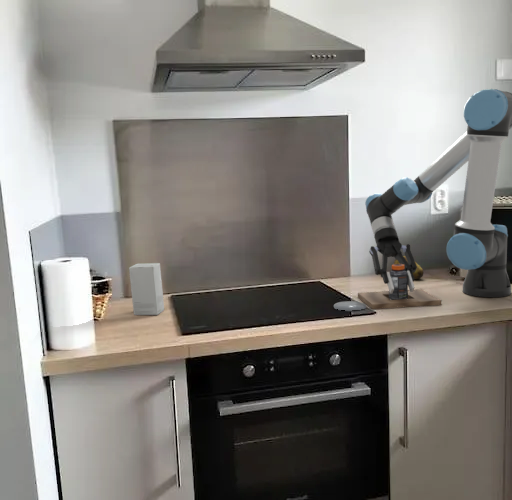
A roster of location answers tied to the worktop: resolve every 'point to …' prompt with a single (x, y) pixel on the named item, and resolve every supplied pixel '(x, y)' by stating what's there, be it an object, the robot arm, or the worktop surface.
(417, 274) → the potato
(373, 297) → the pocket board
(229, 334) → the worktop surface
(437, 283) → the worktop surface
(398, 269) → the pill bottle
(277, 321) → the worktop surface
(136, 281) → the skincare box
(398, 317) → the worktop surface
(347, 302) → the coaster
